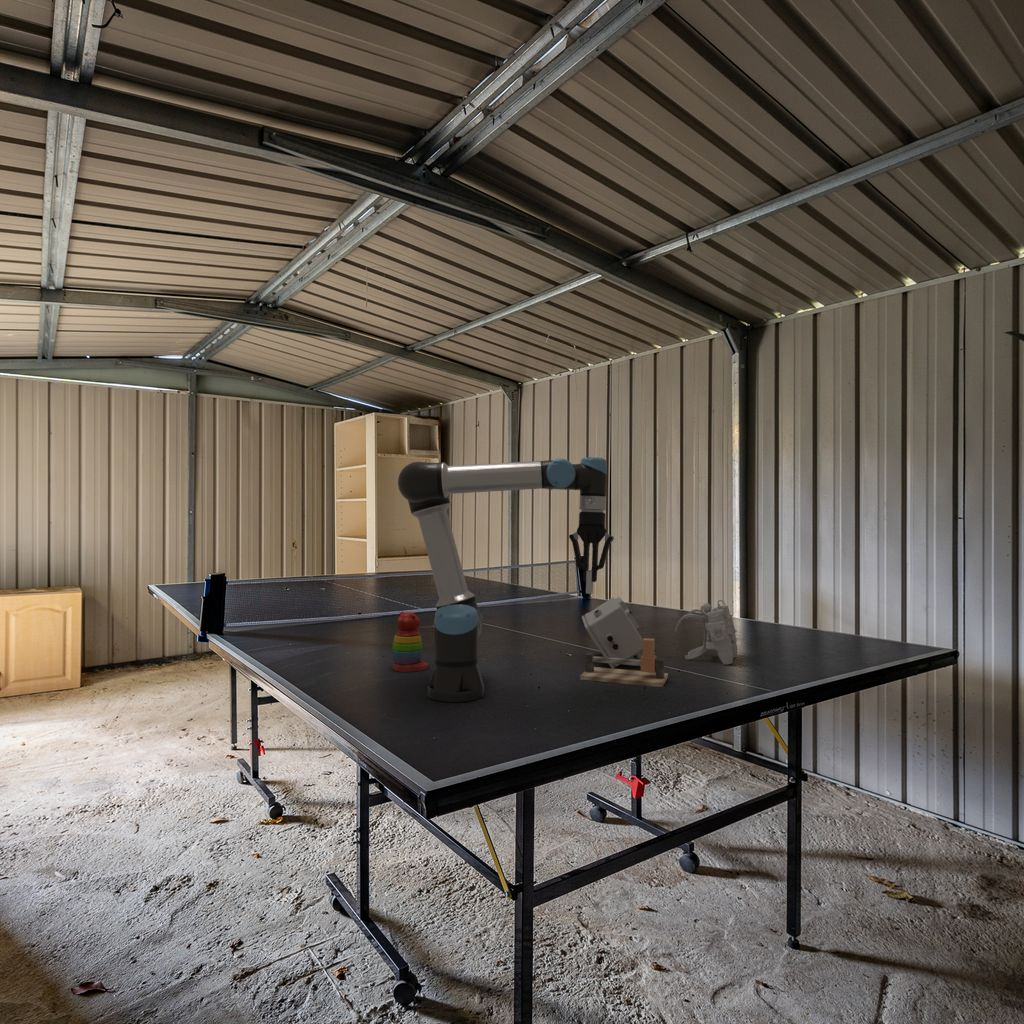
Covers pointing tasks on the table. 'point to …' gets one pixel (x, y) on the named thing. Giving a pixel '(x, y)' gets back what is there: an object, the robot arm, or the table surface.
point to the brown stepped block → (648, 656)
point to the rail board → (623, 672)
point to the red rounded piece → (408, 645)
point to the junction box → (614, 630)
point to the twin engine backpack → (715, 632)
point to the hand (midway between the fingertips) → (589, 593)
